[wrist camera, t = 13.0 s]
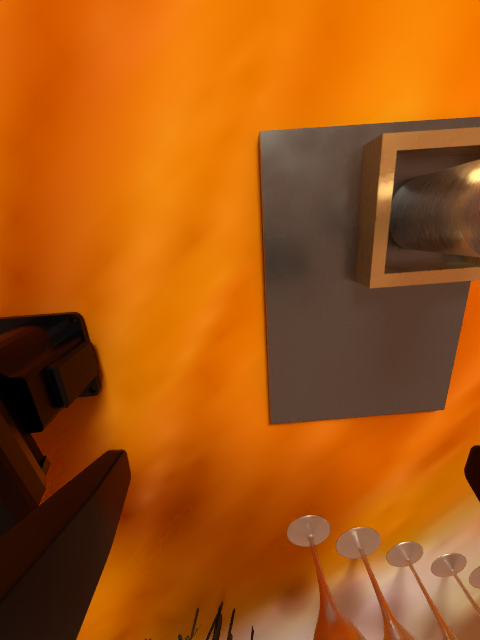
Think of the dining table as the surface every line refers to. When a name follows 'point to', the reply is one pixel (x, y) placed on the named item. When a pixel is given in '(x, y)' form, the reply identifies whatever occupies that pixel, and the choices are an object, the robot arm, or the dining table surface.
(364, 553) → the goblet set
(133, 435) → the dining table surface
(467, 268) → the dark grey flat slab
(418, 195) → the shiny metal cylinder
